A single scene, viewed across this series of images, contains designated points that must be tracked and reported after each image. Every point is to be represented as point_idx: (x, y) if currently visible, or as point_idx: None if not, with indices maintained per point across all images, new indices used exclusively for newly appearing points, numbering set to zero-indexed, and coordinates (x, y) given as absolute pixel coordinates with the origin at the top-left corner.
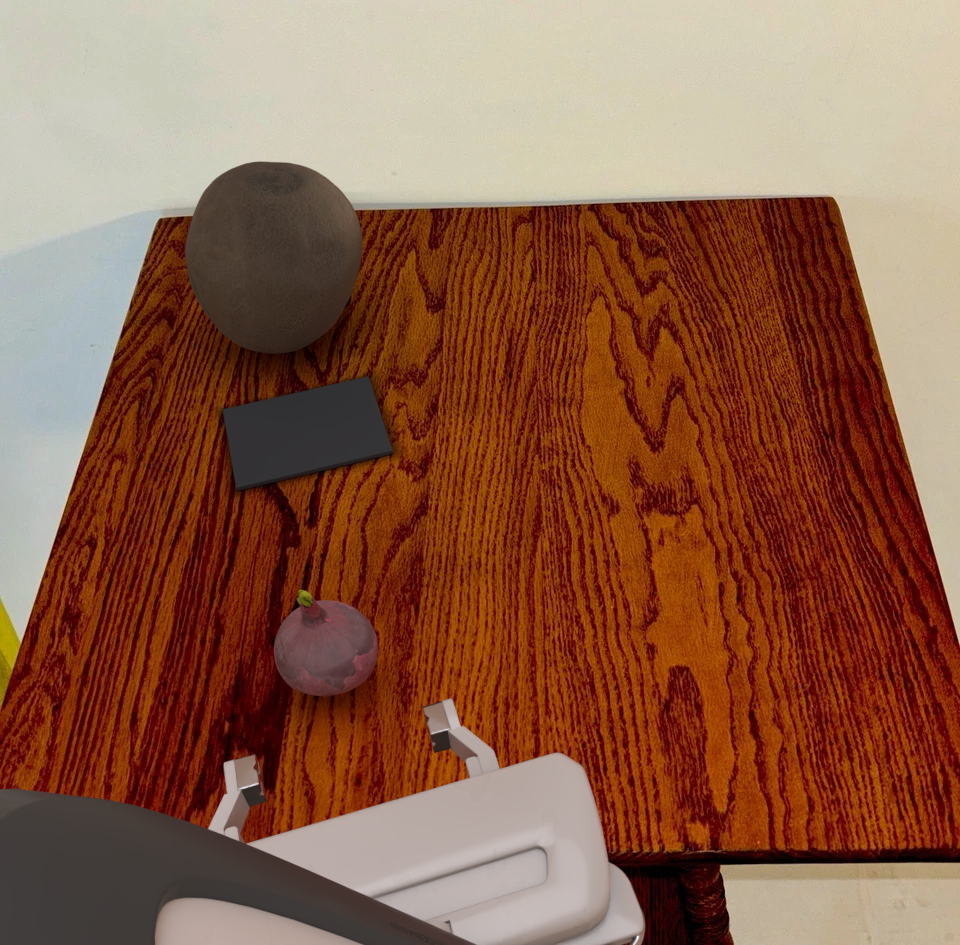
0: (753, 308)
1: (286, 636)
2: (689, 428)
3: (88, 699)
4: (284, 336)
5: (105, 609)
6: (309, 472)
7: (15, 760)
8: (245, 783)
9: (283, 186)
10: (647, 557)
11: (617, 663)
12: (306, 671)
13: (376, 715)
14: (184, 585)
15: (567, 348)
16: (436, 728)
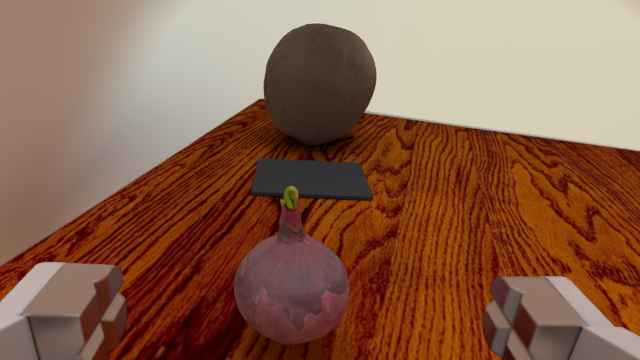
0: (635, 186)
1: (255, 252)
2: (615, 234)
3: None
4: (312, 121)
5: (112, 235)
6: (307, 196)
7: None
8: (50, 307)
9: (338, 30)
10: (614, 311)
11: None
12: (265, 290)
13: None
14: (183, 235)
15: (500, 179)
16: (550, 315)
